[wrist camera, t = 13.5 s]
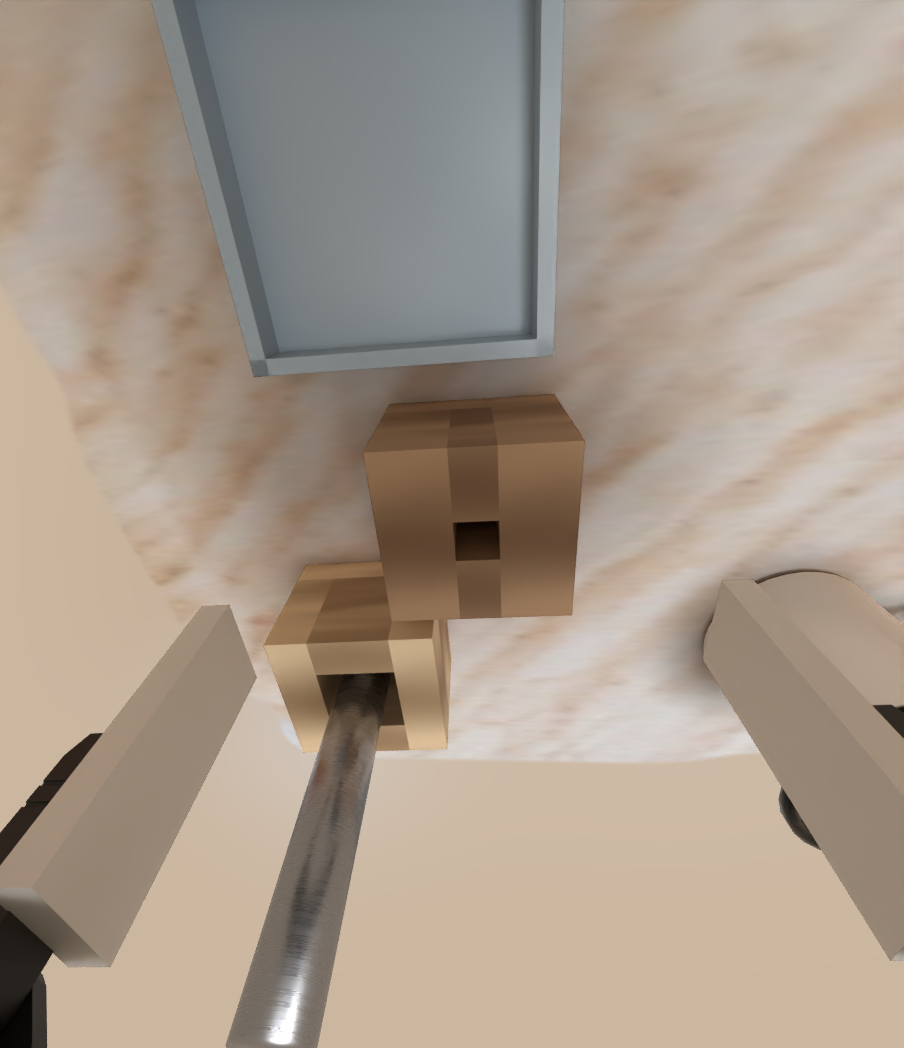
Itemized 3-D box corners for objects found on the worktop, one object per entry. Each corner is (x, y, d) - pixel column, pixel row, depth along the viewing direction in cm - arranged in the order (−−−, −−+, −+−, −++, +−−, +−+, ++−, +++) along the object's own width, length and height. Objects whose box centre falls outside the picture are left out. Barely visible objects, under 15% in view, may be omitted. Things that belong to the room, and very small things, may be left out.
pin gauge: (354, 615, 24) (213, 1035, 11) (396, 613, 24) (304, 1037, 11) (361, 646, 25) (241, 1063, 12) (401, 645, 25) (323, 1066, 12)
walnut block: (390, 403, 20) (362, 453, 15) (553, 393, 20) (584, 440, 14) (408, 541, 23) (391, 621, 18) (548, 535, 23) (572, 615, 18)
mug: (695, 703, 28) (783, 872, 21) (685, 583, 24) (791, 739, 16) (915, 665, 26) (1107, 836, 18) (947, 526, 22) (1215, 672, 14)
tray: (175, -22, 14) (133, -63, 12) (554, -70, 13) (567, -121, 11) (273, 366, 19) (254, 377, 18) (545, 346, 19) (553, 355, 17)
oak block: (307, 563, 24) (263, 645, 19) (439, 556, 24) (432, 638, 19) (334, 660, 28) (303, 752, 23) (451, 656, 27) (447, 749, 22)
